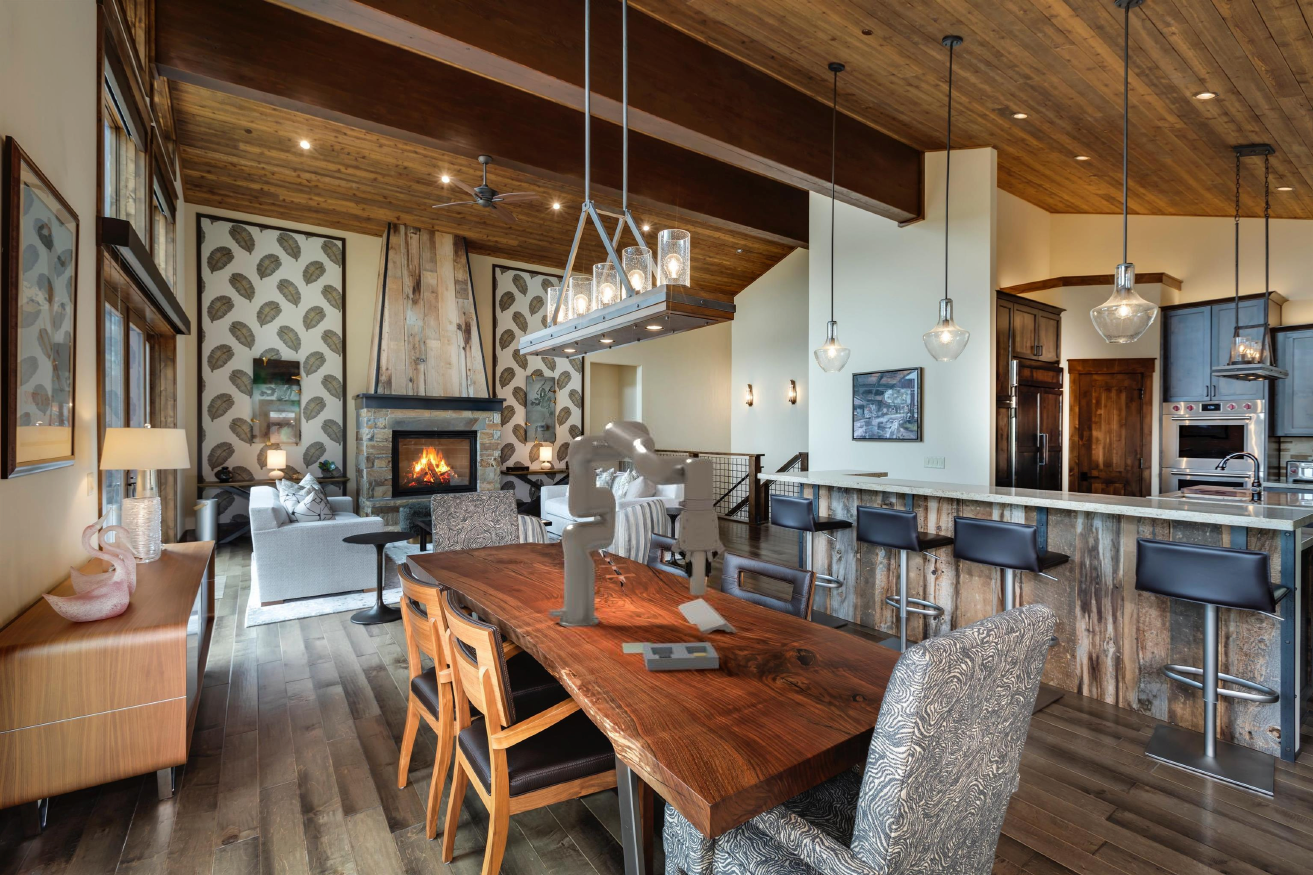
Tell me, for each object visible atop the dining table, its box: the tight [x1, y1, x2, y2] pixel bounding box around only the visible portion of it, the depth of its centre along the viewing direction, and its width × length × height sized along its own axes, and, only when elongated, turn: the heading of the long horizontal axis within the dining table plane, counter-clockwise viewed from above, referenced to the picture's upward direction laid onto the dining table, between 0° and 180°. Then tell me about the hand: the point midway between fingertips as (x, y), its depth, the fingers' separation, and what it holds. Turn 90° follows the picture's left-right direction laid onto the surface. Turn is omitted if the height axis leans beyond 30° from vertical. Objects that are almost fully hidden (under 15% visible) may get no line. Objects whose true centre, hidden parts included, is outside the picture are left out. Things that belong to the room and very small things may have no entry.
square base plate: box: [621, 642, 652, 654], centre depth 171 cm, size 8×8×1 cm
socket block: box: [642, 641, 720, 671], centre depth 161 cm, size 18×11×4 cm, turn 97°
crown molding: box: [677, 598, 738, 635], centre depth 202 cm, size 29×12×4 cm, turn 11°
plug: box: [689, 551, 707, 596], centre depth 161 cm, size 4×4×13 cm
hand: (697, 575), depth 161 cm, fingers closed on plug, 4 cm apart
